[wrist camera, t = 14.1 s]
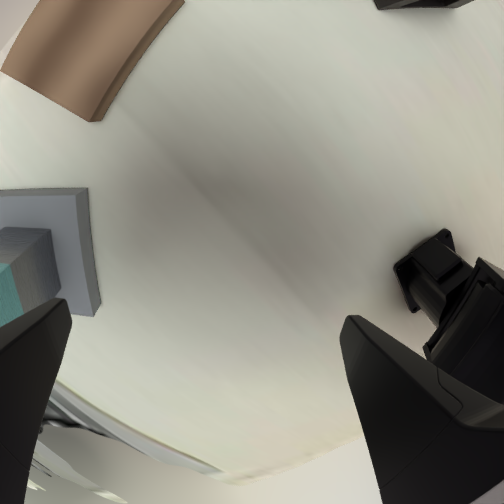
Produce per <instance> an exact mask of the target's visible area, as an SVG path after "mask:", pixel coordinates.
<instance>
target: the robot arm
mask: <svg viewBox="0 0 504 504" xmlns="http://www.w3.org/2000/svg"><path fill="white" fill-rule="evenodd" d="M445 235H446V236H445ZM400 267H401V268H400ZM399 268H400V269H399ZM398 269H399V270H398ZM394 272H395V274H396V277H397V279H398V282H399V284H400V287H401V289H402V292H403V294H404V297H405V300H406V302H407V305H408V308H409V310H410V311H411V313H416V312H417V311H419V310H420V309H422V310H423V311H424V312H425V314H426V315H427V316H428V317H429V319H430V320H431V321H432V322H433V324H434V325H435V326H436V327H437V329H436V331H435V332H434V334H433V335H432V336H431V338H430V339H429V341H428V342H426V343H425V345H424V346H423V350H424V353H425V356H426V359H427V360H426V359H424V358H423V357H421V356H420V355H418V354H417V353H415V352H414V351H412V350H411V349H410V348H408V347H407V346H405V345H404V344H402V343H401V342H399V341H398V340H396V339H395V338H393V337H392V336H390V335H389V334H387V333H386V332H384V331H383V330H381V329H380V328H378V327H377V326H375V325H374V324H372V323H371V322H369V321H368V320H366V319H365V318H363V317H362V316H360V315H348V316H347V317H346V319H345V322H344V325H343V328H342V330H341V333H340V345H341V350H342V355H343V360H344V365H345V370H346V375H347V379H348V383H349V386H350V390H351V393H352V396H353V399H354V402H355V406H356V409H357V412H358V415H359V419H360V422H361V425H362V429H363V432H364V436H365V439H366V442H367V446H368V450H369V453H370V457H371V460H372V464H373V467H374V471H375V475H376V479H377V483H378V486H379V489H380V494H381V499H382V503H383V504H504V271H503V270H501V269H500V268H498V267H496V266H495V265H493V264H491V263H489V262H488V261H486V260H484V259H482V258H480V257H478V259H477V261H476V265H475V267H474V268H473V267H472V266H470V265H469V264H468V263H467V262H465V261H464V260H463V259H462V258H461V257H460V256H459V255H458V254H456V252H455V247H454V243H453V239H452V235H451V232H450V231H449V230H448V229H444V230H442V231H441V232H440V233H438V234H437V235H436V236H434V237H433V238H432V239H430V240H429V241H428V242H426V243H425V244H423V245H422V246H421V247H419V248H418V249H417V250H415V251H414V252H412V253H411V254H410V255H408V256H407V257H405V258H404V259H402V260H401V261H399V262H398V263H397V264H396V265H395V266H394ZM71 327H72V318H71V314H70V311H69V307H68V303H67V301H66V299H64V298H57V297H55V298H52V299H50V300H49V301H47V302H45V303H43V304H41V305H39V306H37V307H36V308H34V309H32V310H30V311H28V312H26V313H25V314H23V315H21V316H19V317H17V318H16V319H14V320H12V321H10V322H8V323H7V324H5V325H3V326H1V327H0V504H24V499H25V493H26V488H27V482H28V477H29V470H30V466H31V462H32V458H33V453H34V449H35V445H36V441H37V437H38V434H39V430H40V426H41V423H42V419H43V416H44V413H45V410H46V406H47V403H48V400H49V397H50V394H51V391H52V388H53V385H54V382H55V379H56V377H57V374H58V371H59V368H60V365H61V362H62V359H63V355H64V351H65V348H66V344H67V340H68V337H69V333H70V330H71Z"/></svg>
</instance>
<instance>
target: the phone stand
mask: <svg viewBox="0 0 504 504" xmlns="http://www.w3.org/2000/svg"><path fill="white" fill-rule="evenodd" d="M471 1H474V0H375V2H376V4H377V6H378V9H379V10H385V9H399V8H420V7H422V8H458V7H460V6H463V5H465V4H467V3H469V2H471Z"/></svg>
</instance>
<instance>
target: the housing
mask: <svg viewBox="0 0 504 504" xmlns="http://www.w3.org/2000/svg"><path fill="white" fill-rule="evenodd" d="M60 289H61V283H60V278H59V274H58V269H57V264H56V258H55V252H54V246H53V240H52V233H51V229H44V228H24V227H4V228H2V229H1V230H0V327H1V326H3V325H5V324H7V323H8V322H10V321H12V320H14V319H16V318H17V317H19V316H21V315H23V314H25V313H26V312H28V311H30V310H32V309H34V308H36V307H37V306H39V305H41V304H43V303H45V302H47V301H49V300H50V299H52V298H54V297H55V296H56V295H57V293H58V292H59V291H60Z"/></svg>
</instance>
